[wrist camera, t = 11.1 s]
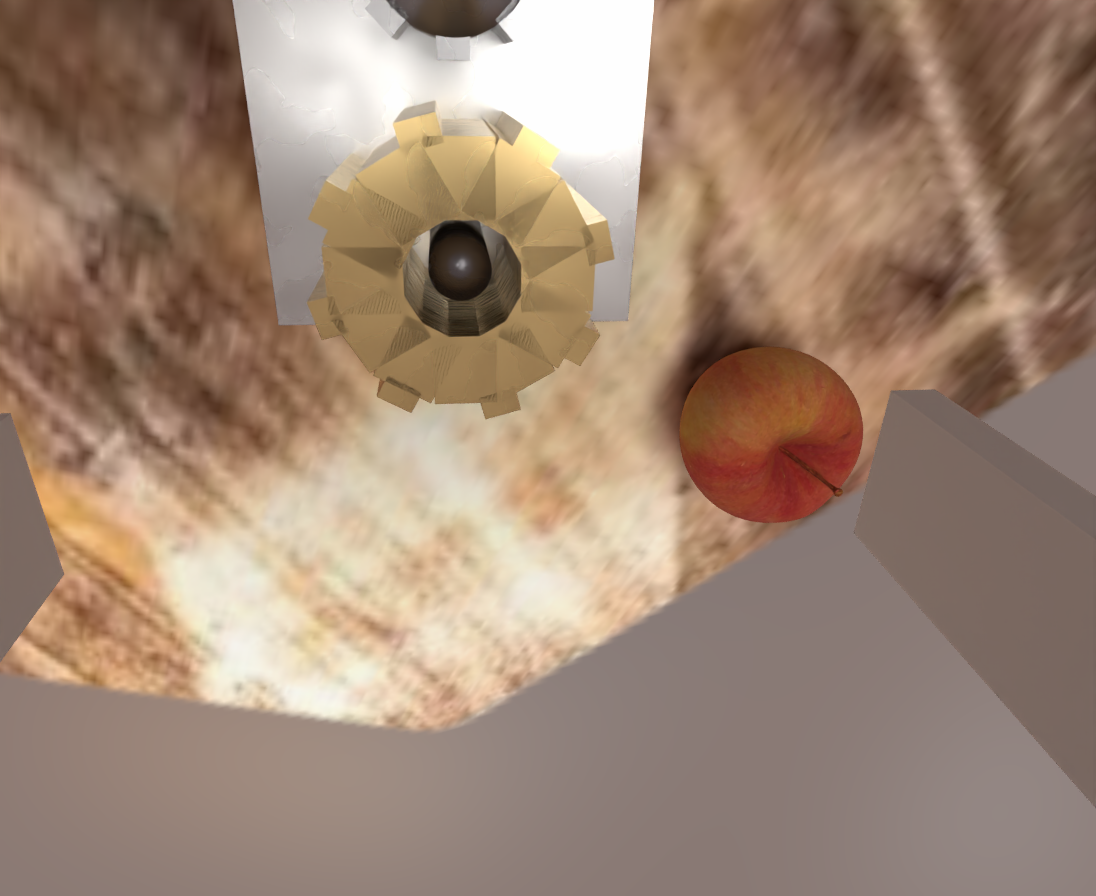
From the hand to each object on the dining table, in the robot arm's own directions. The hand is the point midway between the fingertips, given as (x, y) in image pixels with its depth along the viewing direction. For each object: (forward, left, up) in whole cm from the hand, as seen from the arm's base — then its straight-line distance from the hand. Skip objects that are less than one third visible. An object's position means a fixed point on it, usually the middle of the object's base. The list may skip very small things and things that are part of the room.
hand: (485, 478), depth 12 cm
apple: (+8, +13, -21) cm, 26 cm away
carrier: (-4, 0, -20) cm, 21 cm away
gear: (0, 0, -19) cm, 19 cm away
